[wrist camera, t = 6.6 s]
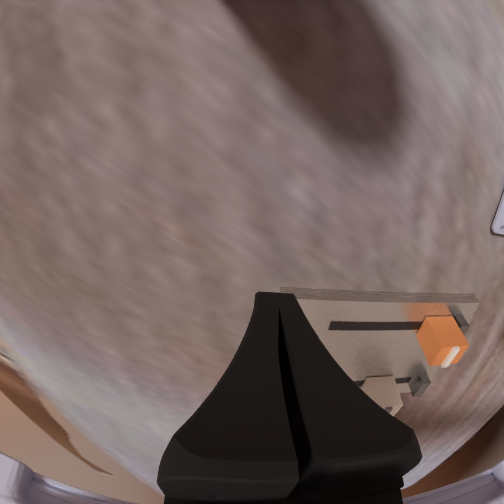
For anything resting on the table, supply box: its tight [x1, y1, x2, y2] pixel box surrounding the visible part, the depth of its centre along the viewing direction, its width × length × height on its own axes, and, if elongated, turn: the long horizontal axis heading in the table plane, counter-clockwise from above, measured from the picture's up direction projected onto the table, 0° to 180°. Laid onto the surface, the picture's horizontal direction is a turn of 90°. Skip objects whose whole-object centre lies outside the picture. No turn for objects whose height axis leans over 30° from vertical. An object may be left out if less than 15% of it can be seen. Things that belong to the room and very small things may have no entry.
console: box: [280, 287, 480, 397], centre depth 26 cm, size 18×13×3 cm
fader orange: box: [416, 316, 469, 368], centre depth 22 cm, size 3×2×4 cm
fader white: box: [360, 376, 403, 417], centre depth 26 cm, size 3×2×4 cm
